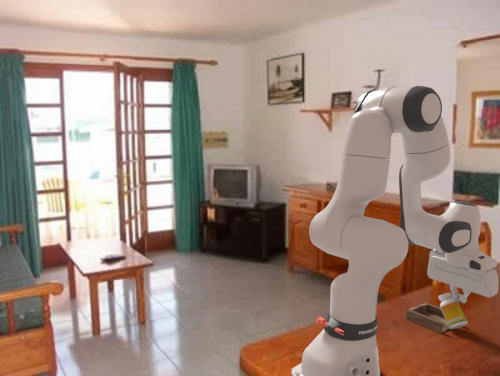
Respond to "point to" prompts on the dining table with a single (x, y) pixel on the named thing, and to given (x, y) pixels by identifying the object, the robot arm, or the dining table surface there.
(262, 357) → the dining table surface
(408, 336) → the dining table surface
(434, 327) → the tray
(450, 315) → the supplement bottle
